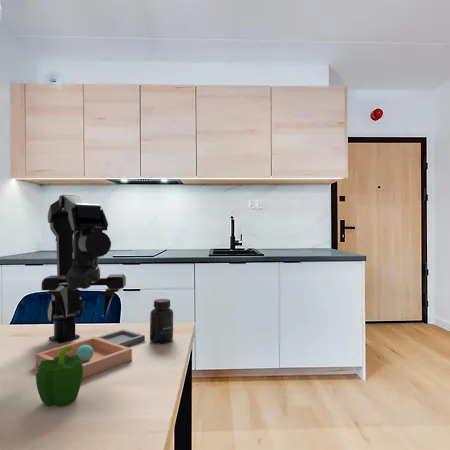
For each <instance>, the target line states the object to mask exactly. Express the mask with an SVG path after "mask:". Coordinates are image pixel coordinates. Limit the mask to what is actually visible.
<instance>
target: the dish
mask: <svg viewBox="0 0 450 450" xmlns="http://www.w3.org/2000/svg"><path fill="white" fill-rule="evenodd" d="M97 337H98V336H93V337H89V338H85V339H82V340H78V341H75V342H71V343H69V344H65V345H61V346H58V347H55V348H51V349H47V350H44V351H41V352H37V353H35V367H36V368H37V369H38V368H39V366H40V364H41V361H44V360H53V359H54V358H55V357H58V356H60V353H61V351H62V349H63V348H65V347H66V346H72V349H71V350H70V351H67V352H66V353H65V355H68V356H73V355H76V352H77V349H78V348H79V347H80V346H82V345H89V346H91V347H92V348H93V356H92V358H91V359H90V360H89V361H86V362H82V365H83V376H82V381H84V380H86V379H89V378H91V377H94V376H97V375H99V374H102V373H103V372H106V371H108V370H112V369H114V368H116V367H119V366H121V365H124V364H126V363H127V364H128V363H129V362H131V361H133V348H130V347H129V346H128V347H125V346H122V345H119V344H116V343H113V342H110V341H107V340H104V339H100V338H97Z"/></svg>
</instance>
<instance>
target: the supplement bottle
mask: <svg viewBox="0 0 450 450" xmlns="http://www.w3.org/2000/svg"><path fill="white" fill-rule="evenodd" d="M170 307H171V299H167V298H158V299H155V300H153V309H152V310H150V312H149V313H150V314H149V316H150V317H149V341H150V342H151V343H152V344H155V345H166V344H169V343H171V342H172V341H173V339H174V310H173V309H172V308H170Z"/></svg>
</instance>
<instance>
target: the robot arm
mask: <svg viewBox="0 0 450 450" xmlns="http://www.w3.org/2000/svg"><path fill="white" fill-rule="evenodd" d="M47 223H48V224H49V229H50V230H51V232H52V234H53V235H54V236H55V238H56V239H55V240H56V243H55V245H56V274H57V275H48V276H47V277H44V278H43V279H42V281H41V291H47V294H50V295H51V300H50V302H49V305H48V309H47V319H48V321H49V322H51V323H52V322H53V336H49V337H48V340H51V341H53V342H56V343H59V344H61V343H65V342H67V341H72V340H76V339H79V338H81V336H80V335H79V334H76V319H77V318H81V317H82V315H83V307H84V301H83V298H82V297H81V291H80V289H82V290H84V289H85V290H86V289H88V288H90V287H91V286H106V287H107V288H106V289H105V290H104V291H105V295H104V304H103V317H106V316H107V314H108V310H109V307H110V305H111V301H112V299H113V297H114V295H115V293H117V292H119V291H120V289H124V288H125V287H126V285H127V284H126V283H127V281H126V280H127V277H126V275H125V274H113V273H112V274H109V275H108V276H106V277H101V269H100V266H99V258H101V257H104V256H105V255H107V254H108V253H109V251H110V250H111V247H112V241H111V238H110V237H109V235H108V234H106V233H105V231H108V227H109V222H108V219H107V217H106V214H105V212H104V209H103V208H102V206H101V205H100V204H99V203H87V202H86V201H84V200H82V199H81V198H80V196H79V195H75V194H61V195H59V197H58V199H57V200H56V201H55V202H53V203H52V204H50V205H49V208H48V213H47ZM103 231H104V232H103Z"/></svg>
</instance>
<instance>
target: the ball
mask: <svg viewBox="0 0 450 450" xmlns="http://www.w3.org/2000/svg"><path fill="white" fill-rule="evenodd" d="M76 355H78V356H79V358H80V360H81V362H86V361H89V360H90V359H91V358H92V356H93V348H92V347H91V346H89V345H82V346H80V347H79V348H78V349H77V352H76Z"/></svg>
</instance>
